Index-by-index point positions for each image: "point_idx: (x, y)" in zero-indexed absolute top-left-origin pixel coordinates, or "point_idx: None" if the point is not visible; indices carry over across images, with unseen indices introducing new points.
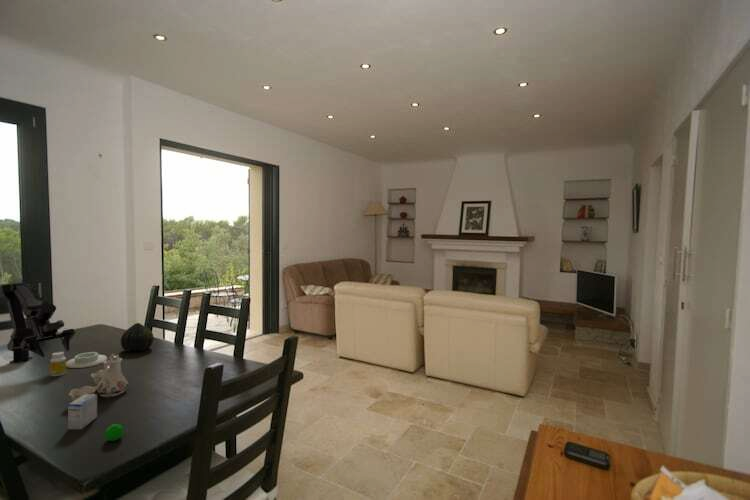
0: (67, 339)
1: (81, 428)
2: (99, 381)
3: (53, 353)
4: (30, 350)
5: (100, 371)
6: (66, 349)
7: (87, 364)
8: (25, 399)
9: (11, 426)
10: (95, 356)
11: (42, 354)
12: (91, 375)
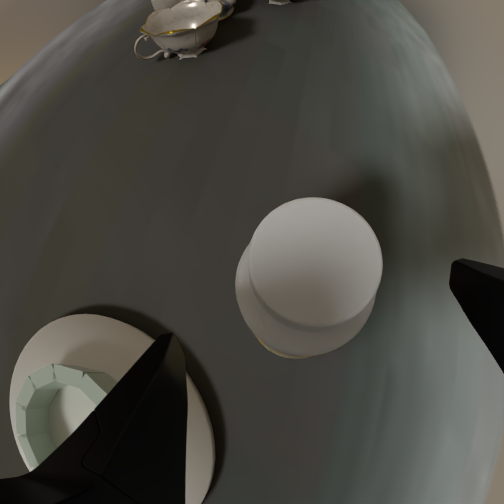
0: (66, 474)
1: None
2: (208, 18)
3: (368, 275)
4: None
5: (174, 33)
6: (181, 377)
7: (109, 330)
8: (419, 85)
9: (405, 10)
10: (38, 373)
11: (478, 263)
12: (220, 12)
